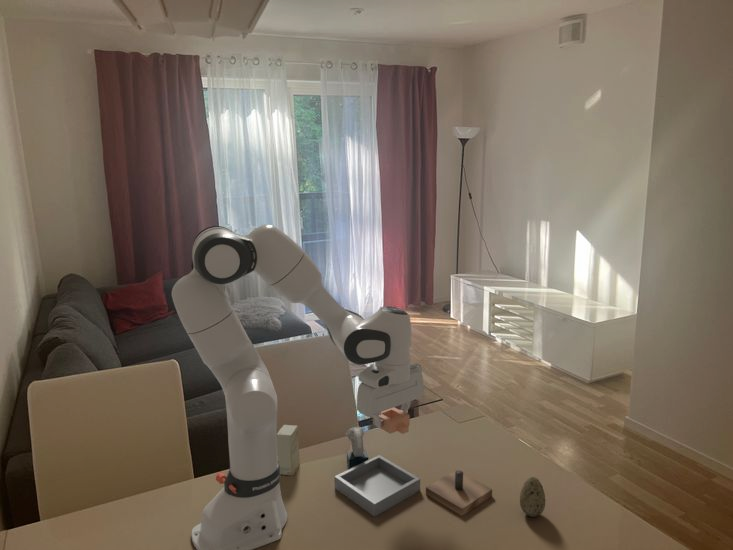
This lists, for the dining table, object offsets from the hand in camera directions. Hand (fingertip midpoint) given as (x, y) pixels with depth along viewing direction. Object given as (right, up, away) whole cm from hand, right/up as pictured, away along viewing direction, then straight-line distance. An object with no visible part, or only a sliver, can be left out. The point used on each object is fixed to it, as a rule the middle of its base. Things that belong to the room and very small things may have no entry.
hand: (391, 421), depth 138 cm
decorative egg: (+34, -21, -6) cm, 41 cm away
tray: (-3, -19, +5) cm, 20 cm away
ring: (+1, -1, -1) cm, 1 cm away
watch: (-9, -17, +17) cm, 26 cm away
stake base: (+18, -20, +2) cm, 26 cm away
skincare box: (-28, -18, +15) cm, 37 cm away
